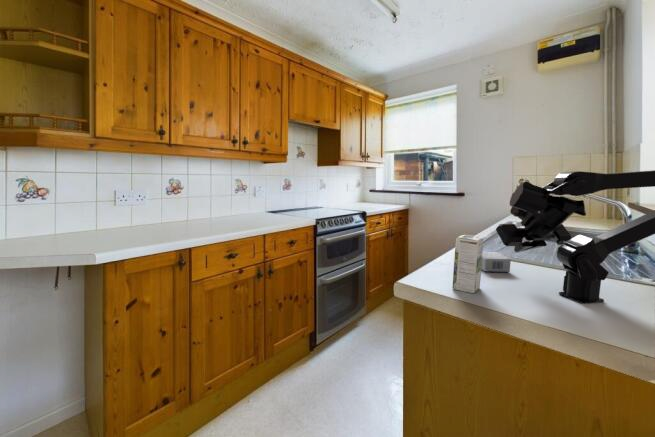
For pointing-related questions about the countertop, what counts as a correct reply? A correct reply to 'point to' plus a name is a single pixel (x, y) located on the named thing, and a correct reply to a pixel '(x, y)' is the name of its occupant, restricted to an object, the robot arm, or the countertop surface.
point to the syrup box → (467, 263)
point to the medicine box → (495, 262)
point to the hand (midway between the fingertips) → (515, 250)
